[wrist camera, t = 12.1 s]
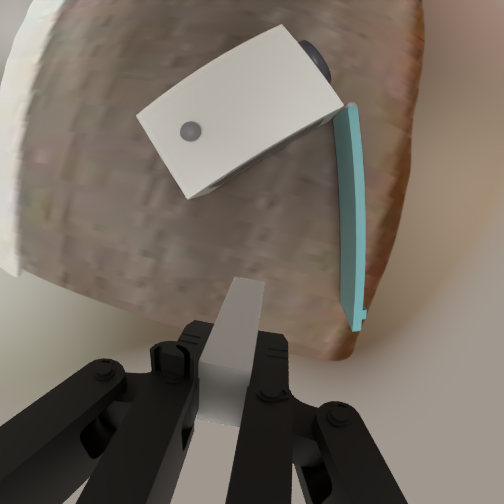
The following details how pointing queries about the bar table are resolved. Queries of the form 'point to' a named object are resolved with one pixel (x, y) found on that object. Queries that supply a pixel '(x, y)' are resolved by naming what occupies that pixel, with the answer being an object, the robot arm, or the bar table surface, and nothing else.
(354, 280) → the side door
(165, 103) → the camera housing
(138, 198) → the bar table surface
